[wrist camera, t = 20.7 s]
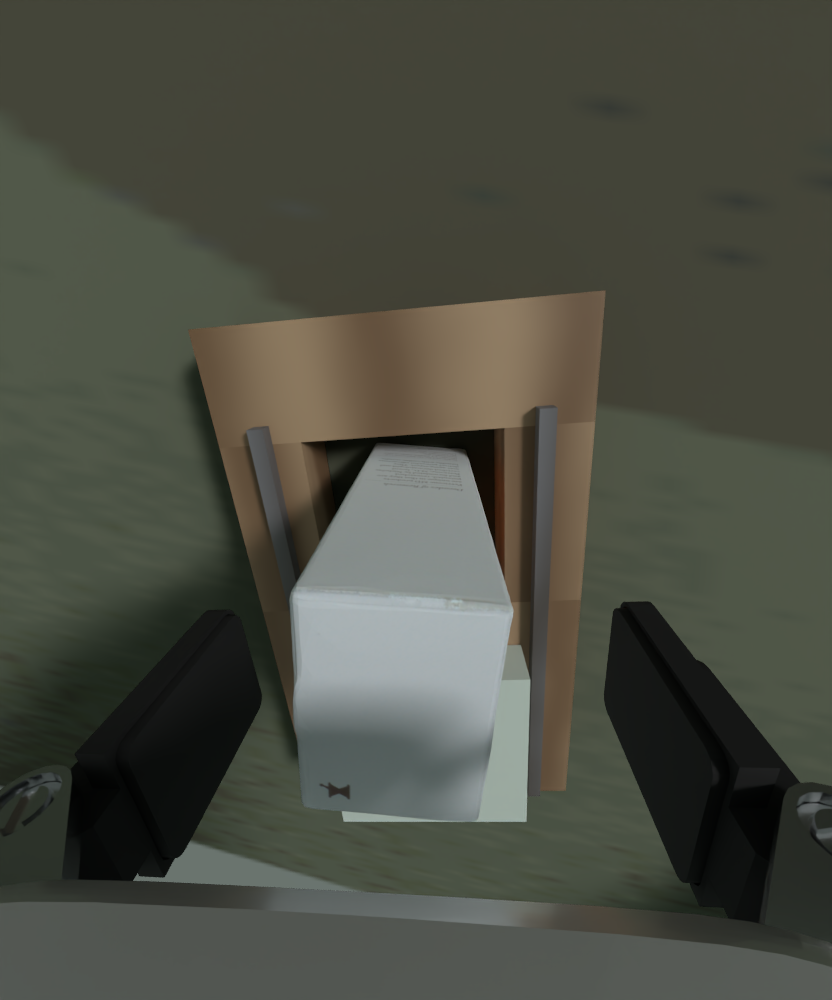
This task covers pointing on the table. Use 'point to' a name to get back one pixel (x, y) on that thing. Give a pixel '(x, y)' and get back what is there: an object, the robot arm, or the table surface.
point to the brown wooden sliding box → (420, 410)
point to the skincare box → (400, 642)
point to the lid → (497, 752)
